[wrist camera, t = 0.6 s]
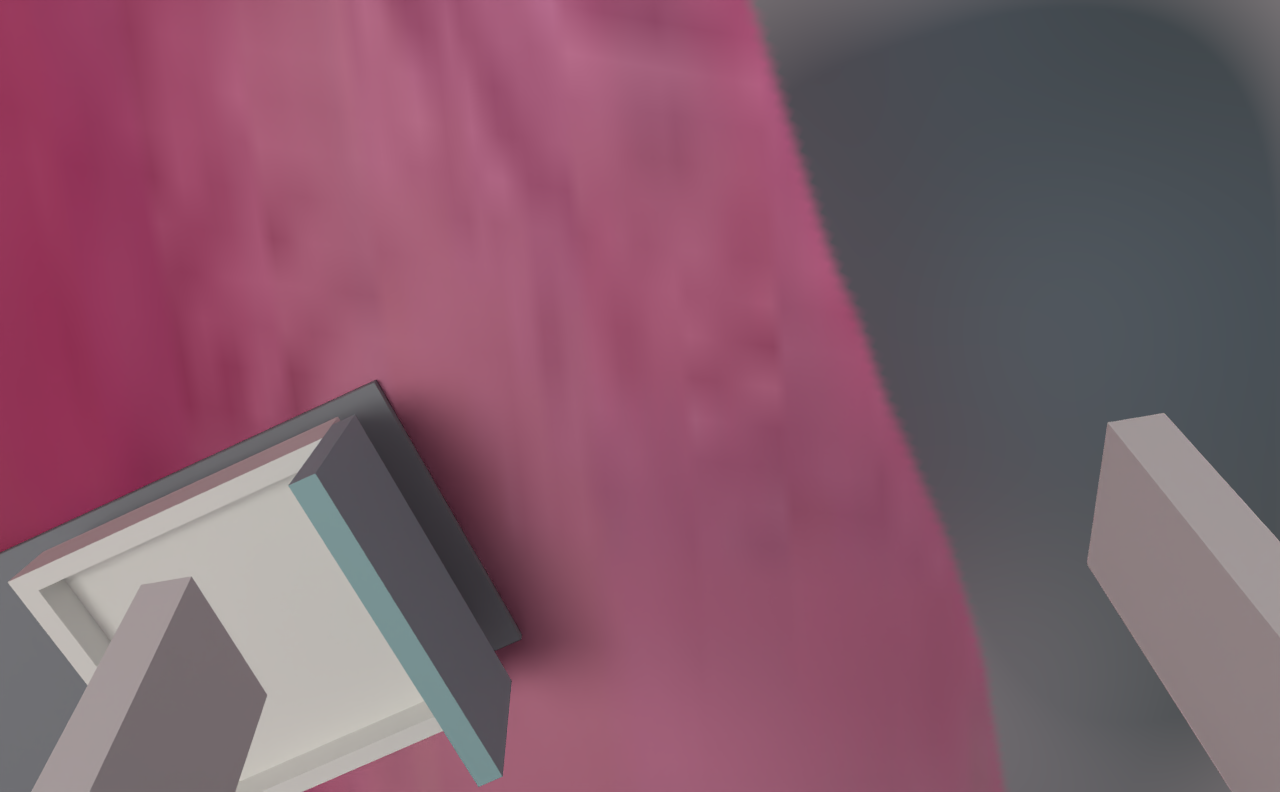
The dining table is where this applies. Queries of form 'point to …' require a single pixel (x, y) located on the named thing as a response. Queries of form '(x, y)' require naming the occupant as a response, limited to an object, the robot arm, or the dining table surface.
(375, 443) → the track
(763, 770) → the dining table surface
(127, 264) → the dining table surface
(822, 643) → the dining table surface
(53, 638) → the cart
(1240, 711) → the robot arm
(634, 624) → the dining table surface
